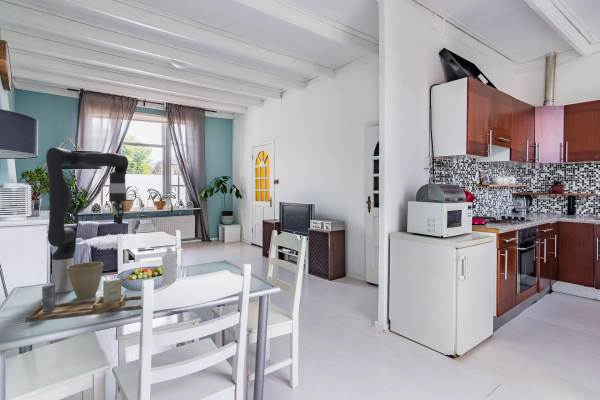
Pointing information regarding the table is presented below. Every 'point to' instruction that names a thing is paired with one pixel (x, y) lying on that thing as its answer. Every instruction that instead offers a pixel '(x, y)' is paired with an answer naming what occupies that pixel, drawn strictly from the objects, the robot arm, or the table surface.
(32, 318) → the brown flat long board
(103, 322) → the table surface
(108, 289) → the skincare box
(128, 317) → the table surface
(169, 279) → the water bottle
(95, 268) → the plant pot
